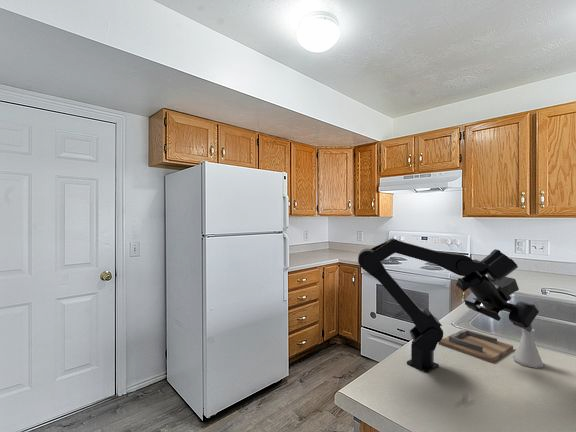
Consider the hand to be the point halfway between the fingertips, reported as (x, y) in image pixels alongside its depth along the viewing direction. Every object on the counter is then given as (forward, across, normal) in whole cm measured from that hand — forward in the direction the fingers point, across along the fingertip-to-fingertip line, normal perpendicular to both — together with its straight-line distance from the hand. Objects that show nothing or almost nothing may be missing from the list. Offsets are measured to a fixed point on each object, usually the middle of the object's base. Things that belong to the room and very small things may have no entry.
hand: (514, 324), depth 88 cm
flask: (+12, 0, +5) cm, 13 cm away
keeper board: (+8, +13, +9) cm, 17 cm away
